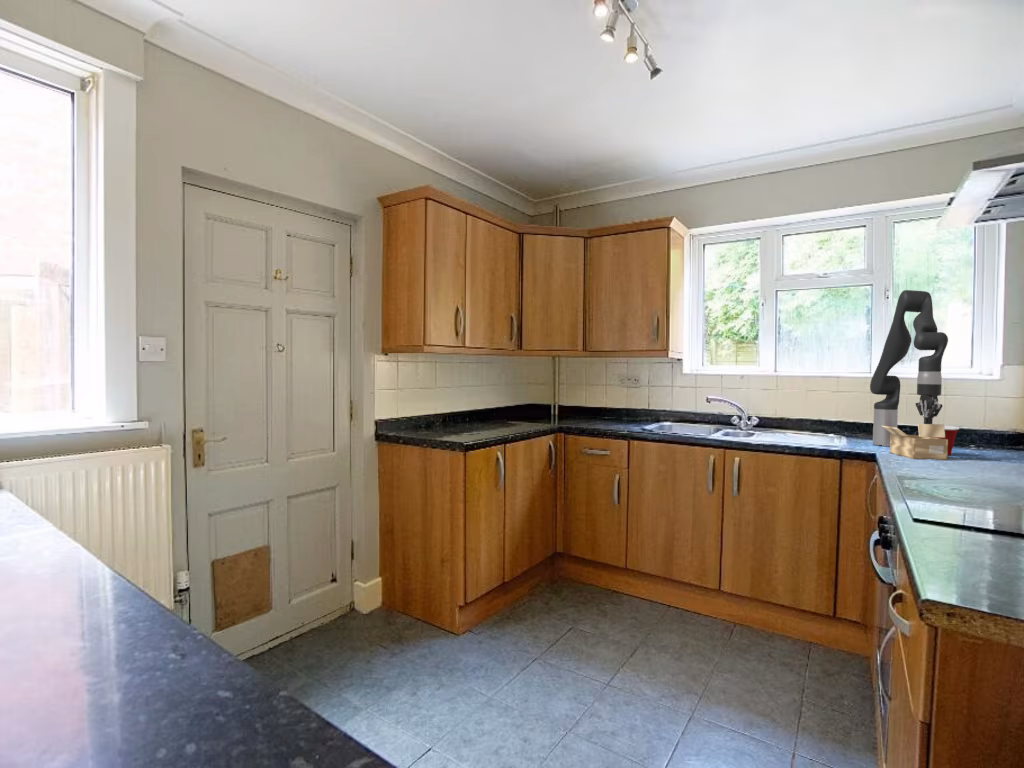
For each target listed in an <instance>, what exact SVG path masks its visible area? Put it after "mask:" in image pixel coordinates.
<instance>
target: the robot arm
mask: <svg viewBox="0 0 1024 768" xmlns="http://www.w3.org/2000/svg"><path fill="white" fill-rule="evenodd" d="M932 298H933V297H932V295H931V293H930V292H928V291H925V290H915V289H914V290H912V289H905V290H903V291H901V292H900V294H899V296H898V299H897V303H896V306H895V311H894V316H893V318H892V323H891V326H890V329H889V331H888V335H887V336H886V340H885V343H884V346H883V350H882V352H881V355H880V358H879V362H878V364H877V366H876V369H875V370H874V373H873V375H872V378H871V380H870V384H869V389H870V392H871V393H872V395H877V396H879V395H881V396H885V398H884V399H882V400H880V401H876V402H875V403H874V404H873V426H872V444H874V445H875V446H879V445H882V446H881V447H890V434H891V433H890V432H889V431H887V430H886V429H884V428H883V427H882V426H888V427H894V428H898V417H899V416H898V413H899V412H898V409H899V404H900V395H901V380H900V378H899V377H898V376H896V375H888V374H889V372H890V371H891V369H892V368H893V367H894V366H895V365H897V364H898V363H900V362H901V361H902V360H903V359H904V358H905V357H906V355H908V353H909V351H910V346H911V344H912V337H911V333H910V331H909V329H908V327H907V324H906V320H905V316H906V315H905V314H906V312H909V313H917V315H916V316H915V317H914V319H913V322H912V327H913V328H914V332H915V335H914V339H913V346H914V348H915V349H916V350H918V351H934V353H932V354H931V355H926V356H921V357H920V358H919V359H918V371H917V372H918V373H917V378H916V380H917V382H916V395H917V396H920V397H919V401H918V402H916V403H915V407H916V409H917V411H918V414H919V415H920V416H922V418H923V424H933V421H934V420H933V419H934V418H935V417H938V415H939V413H940V411H941V410H942V408H943V404H941V403H939V399H938V398H939V397H940V396H941V395H942V385H943V384H942V382H943V381H942V379H943V377H942V360H943V356H944V353H945V350H946V348H947V346H948V343H949V337H948V335H947V334H946V333H945V332H941V331H939V330H938V326H937V324H936V321H935V319H934V313H933V312H934V309H933V299H932ZM938 396H939V397H938ZM893 435H896V434H893Z"/></svg>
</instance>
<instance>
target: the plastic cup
mask: <svg viewBox="0 0 1024 768" xmlns="http://www.w3.org/2000/svg"><path fill="white" fill-rule="evenodd" d="M959 430H960V427H958V426H952V425H944V431H945V438H943V437H935V438H941V439H947V440H948V452H947V457H948V456H951V455H952V451H953V447H954V443H955V441H956V435H957V433H958V431H959Z"/></svg>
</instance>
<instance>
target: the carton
mask: <svg viewBox="0 0 1024 768" xmlns="http://www.w3.org/2000/svg"><path fill="white" fill-rule="evenodd" d="M907 435H908V437H907V436H901V435H893V434H890V446H889V454H890V453H893V454H892V455H894V454H896V455H895V456H898V455H900V456H899V457H903V456H904V457H903V458H907V459H911V460H925V459H936V460H935V461H948V456H947V452H948V440H947V439H941V438H935V437H919V434H907Z"/></svg>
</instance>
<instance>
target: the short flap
mask: <svg viewBox="0 0 1024 768" xmlns="http://www.w3.org/2000/svg"><path fill="white" fill-rule="evenodd" d="M944 426H945V424H935V423H934V424H933V423H932V424H924V423H917V429H918V435H919V437H943V438H945V431H944Z"/></svg>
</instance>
